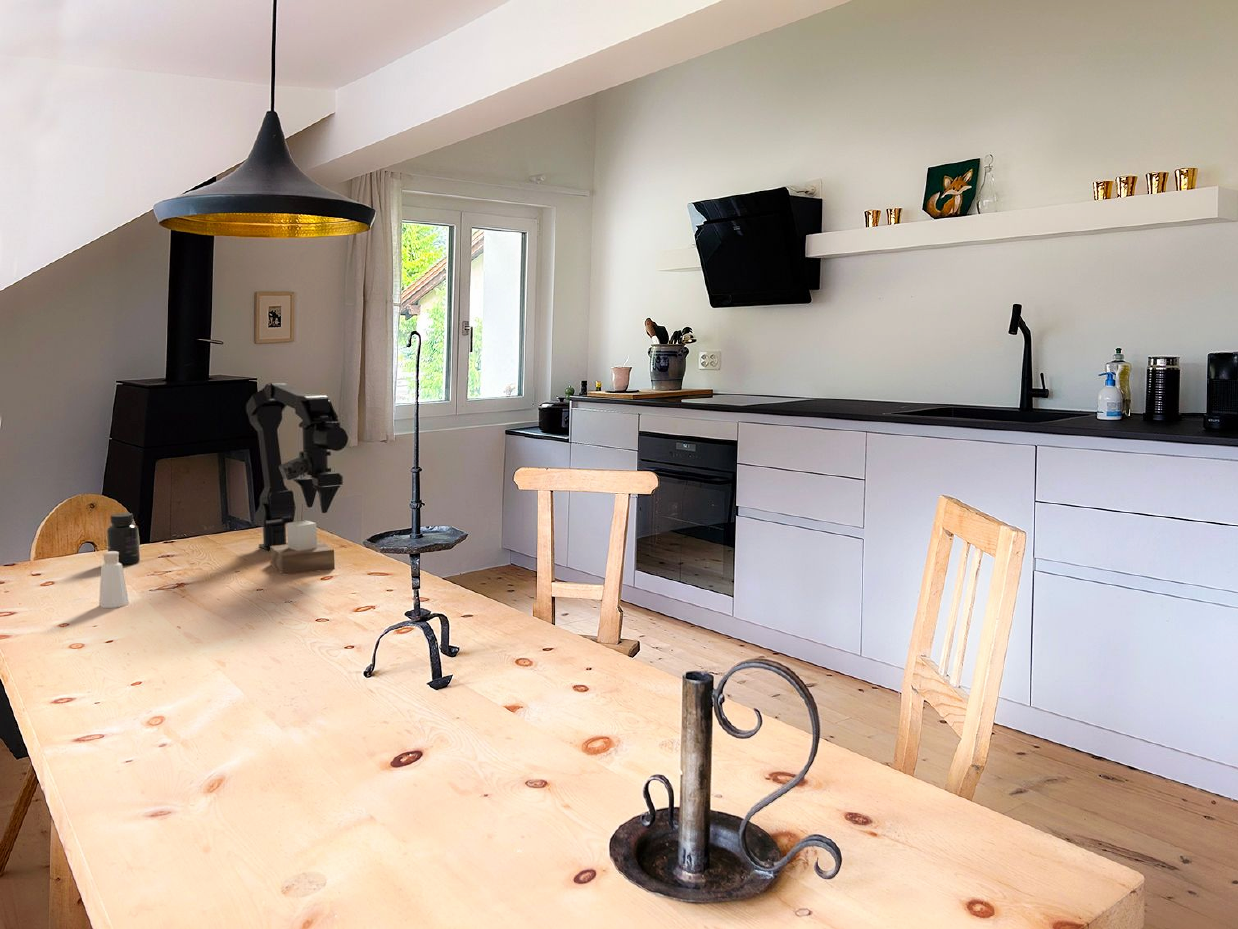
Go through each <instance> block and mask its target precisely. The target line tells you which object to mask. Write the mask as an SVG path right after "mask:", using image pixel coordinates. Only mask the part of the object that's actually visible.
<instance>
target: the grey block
mask: <svg viewBox="0 0 1238 929" xmlns="http://www.w3.org/2000/svg"><path fill="white" fill-rule="evenodd" d="M317 528H318V527H317V523H316V522H313V521H311V520H307V519H306V520H301V521H300V520H299V521H294V522H291V523H286V537H287V543H288V548H291V549H293V550H296V551H300V550H307V549H313V548H317V541H318V536H317V534H318V533H317V531H318V529H317Z"/></svg>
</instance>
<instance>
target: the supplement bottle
mask: <svg viewBox="0 0 1238 929" xmlns="http://www.w3.org/2000/svg"><path fill="white" fill-rule="evenodd" d="M134 520H135V519H134V514H133V513H129V512H119V513H113V514H111V515H110V524H111V525H109V526H108V527H107V528H106V544H107V552H109V551H117V552H119V555H118V561H119V563H121V564H122V567H125V566H133V565H136V564H138V563H139V562H140V560H141V556H140V555H141V554H140V540H139V539H140V536H139V527H138V525H136V524H134V523H133V522H134Z"/></svg>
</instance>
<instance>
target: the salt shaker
mask: <svg viewBox="0 0 1238 929" xmlns="http://www.w3.org/2000/svg"><path fill="white" fill-rule="evenodd" d="M102 554H103V561H104V562H103V563H104V564H102V565H101V567H100V582H99V584H100V585H99V597H98V598H99V599H98V606H99V607H101V608H103V609H115V608H121V607H124V606H126V605H128V604H129V603H130V601H129V597H128V596H129V595H128V589H127V584H126V578H125V573H124V566H122V564H121V563H119V561H118V555H119V552H117V551H109V552H108V551H106V552H103V553H102Z"/></svg>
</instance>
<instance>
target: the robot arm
mask: <svg viewBox="0 0 1238 929" xmlns="http://www.w3.org/2000/svg"><path fill="white" fill-rule="evenodd" d="M287 406H288V407H289V408H292V409H294V414H295V415H297V417H299V418H300V419H301V420H302V421H301V422H299V423H298V427H299V428H302V450H300V451H299V452H298V457H297V458H293V459H291V460H289V461H287V462H284V463H282V457H281V449H280V448H281V447H280V440H279V433H278V429H279V428H280V425H281V423H282V422H283V421H282V420H283V412H284V410H285V409H286V408H287ZM245 412H246V414H247V415H248V421H249V424H250V425H251V426H252V427H253V428H254V430H255V431H256V432H257V436H258V437H257V438H258V445H259V452H260V461H261V462H260V463H261V470H262V477H263V484H264V485H263V486H264V487H263V490H262V492H261V494H260V496H259V506H258V508H257V510H256V512H255V514H254V515H253V521H254V525H255V526H258V527H261V528H262V542H263V543H260V544H258V547H259V548H261V549H264V550H267V551H270V546H276V545H285V544H288V542H287V523H291V522H295V521H294V520H295V514H296V508H297V507H296V503H295V498H294V492H293V490H292V489H290V490H289V488H288V487H287V486H286V485H285V480H284V479H286V480H287V481H291V480H293V482H295V483H297V484H298V485H299V486H300V488H301V491H302V495H303V497H304V501H305V504H306V508H312V507H313V505H314V503H315V498H316V495H317V493H318V499H319V504H320V505H319V506H320V511H321V514H327V513H328V511H329V509H330V507H331V504H332V502H333V500H334V497H335V496H336V493H337V492H338V490H339V489H340V488H341V485H343V484H344V479H343V478H344V476H343V475H342V474H341V473H339V472H336V471H332V468H331V467H329V456H332V455H331V454H332V452H331V451H335V452H339V451H341V450H343V449H344V448H345V447H346V446H347V444H348V441H349V436H348V434H347V432H346V430H345V429H344V428H342V427H341V422H340V421H339V419H338V418H339V417H338V416H339V415H337V412H336V411H335V408H334V406H333V404H332V401H331V400H330V398H329V396H328V395H326V394H314V393H313V394H310V393H306V392H304V391H301V390H299V389H298V388H295V387H292V386H290V385H288V384H287V383H285V382H269V383H266V384H265V385H264V387H263V388H262V389H260V390H259V391H257V392H255V393H254V394H252V395H251V397H250V398H249V400H248V401H247V402H246V406H245Z"/></svg>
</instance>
